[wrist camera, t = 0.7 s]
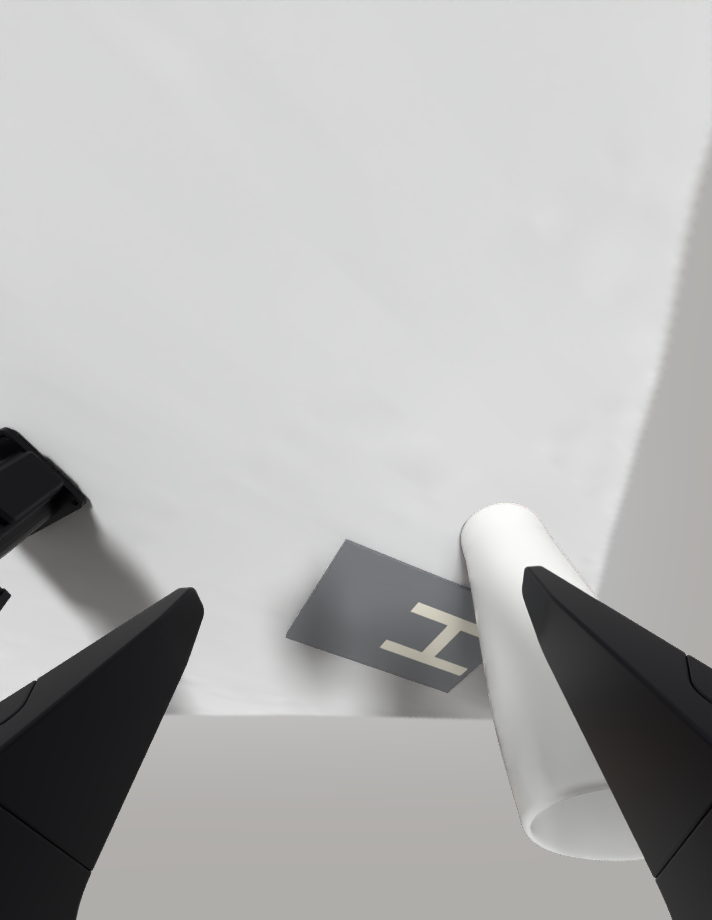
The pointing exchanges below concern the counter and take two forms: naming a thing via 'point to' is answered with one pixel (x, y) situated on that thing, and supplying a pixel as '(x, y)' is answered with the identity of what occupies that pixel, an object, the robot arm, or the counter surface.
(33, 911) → the robot arm
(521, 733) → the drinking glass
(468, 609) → the board
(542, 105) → the counter surface
